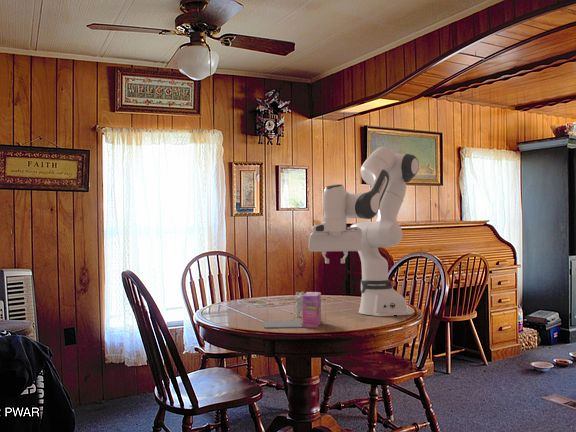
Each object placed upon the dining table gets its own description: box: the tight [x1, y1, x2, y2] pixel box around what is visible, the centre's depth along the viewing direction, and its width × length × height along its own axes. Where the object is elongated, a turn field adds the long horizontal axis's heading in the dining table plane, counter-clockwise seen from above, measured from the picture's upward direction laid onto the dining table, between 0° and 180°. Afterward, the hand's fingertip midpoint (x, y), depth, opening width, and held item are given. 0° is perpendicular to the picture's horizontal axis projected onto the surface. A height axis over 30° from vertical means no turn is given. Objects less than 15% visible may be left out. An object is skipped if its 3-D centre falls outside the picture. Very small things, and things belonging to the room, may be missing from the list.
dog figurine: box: [294, 291, 306, 318], centre depth 214 cm, size 5×13×11 cm, turn 162°
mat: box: [264, 320, 303, 329], centre depth 196 cm, size 14×12×1 cm
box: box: [301, 291, 322, 329], centre depth 195 cm, size 10×6×12 cm, turn 168°
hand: (335, 263), depth 196 cm, fingers open, 5 cm apart
